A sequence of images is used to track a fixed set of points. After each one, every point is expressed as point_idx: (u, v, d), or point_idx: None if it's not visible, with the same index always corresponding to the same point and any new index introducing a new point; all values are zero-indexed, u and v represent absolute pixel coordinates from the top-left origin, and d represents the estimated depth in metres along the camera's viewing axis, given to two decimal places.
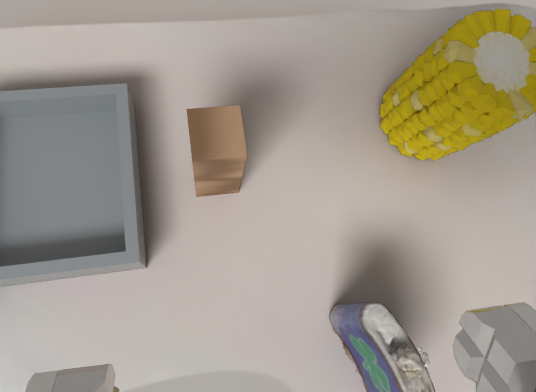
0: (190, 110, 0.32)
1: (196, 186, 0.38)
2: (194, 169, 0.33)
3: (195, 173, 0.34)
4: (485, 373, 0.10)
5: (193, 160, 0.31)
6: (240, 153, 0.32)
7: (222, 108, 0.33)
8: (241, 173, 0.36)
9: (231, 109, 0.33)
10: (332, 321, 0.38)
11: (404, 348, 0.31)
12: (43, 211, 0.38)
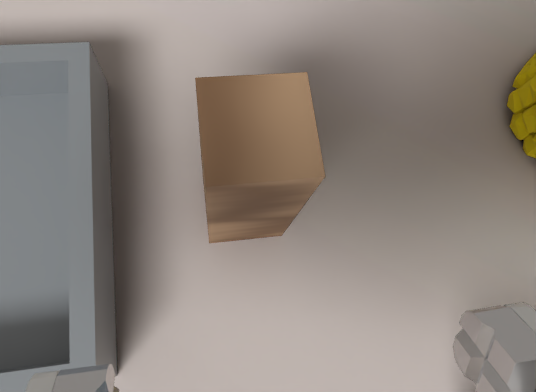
0: (203, 80, 0.15)
1: (210, 229, 0.20)
2: (209, 204, 0.16)
3: (210, 211, 0.17)
4: (485, 373, 0.10)
5: (208, 188, 0.14)
6: (309, 174, 0.15)
7: (270, 77, 0.15)
8: (298, 209, 0.19)
9: (290, 79, 0.15)
10: None
11: None
12: None
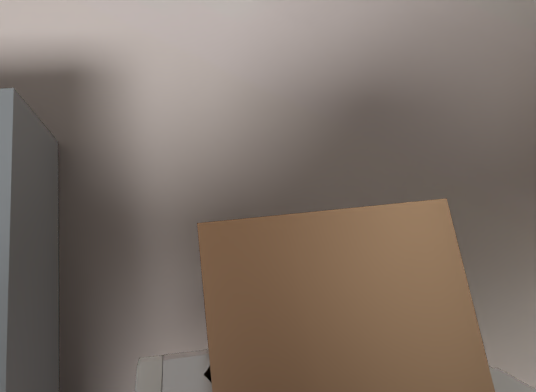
0: (215, 230, 0.06)
1: None
2: None
3: None
4: None
5: None
6: None
7: (368, 215, 0.07)
8: None
9: (411, 218, 0.07)
10: None
11: None
12: None
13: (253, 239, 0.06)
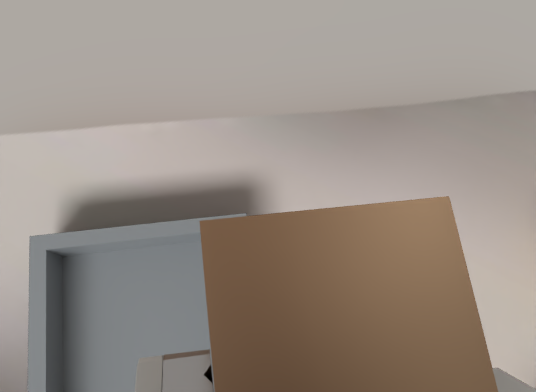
0: (218, 228, 0.06)
1: None
2: None
3: None
4: None
5: None
6: None
7: (370, 213, 0.07)
8: None
9: (414, 216, 0.07)
10: None
11: None
12: None
13: (255, 237, 0.06)
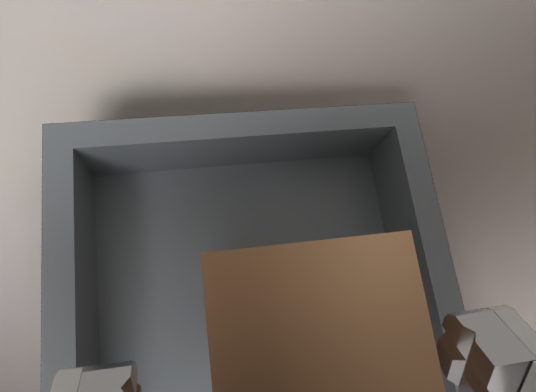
0: (215, 258, 0.08)
1: None
2: None
3: None
4: (466, 376, 0.10)
5: None
6: None
7: (344, 245, 0.08)
8: None
9: (380, 247, 0.08)
10: None
11: None
12: None
13: (247, 266, 0.08)
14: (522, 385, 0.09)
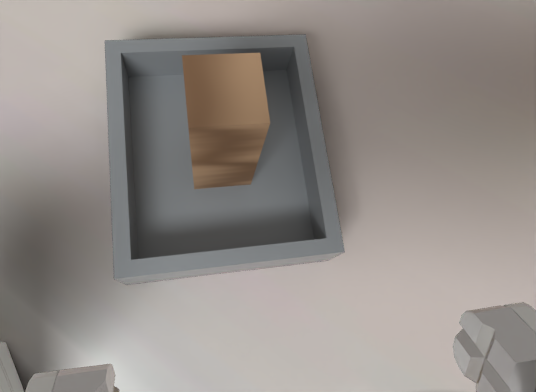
0: (187, 57, 0.22)
1: (194, 173, 0.27)
2: (191, 145, 0.23)
3: (193, 152, 0.24)
4: (485, 373, 0.10)
5: (190, 129, 0.21)
6: (259, 121, 0.21)
7: (234, 55, 0.22)
8: (258, 155, 0.25)
9: (247, 57, 0.22)
10: None
11: None
12: (206, 189, 0.30)
13: (198, 60, 0.22)
14: None
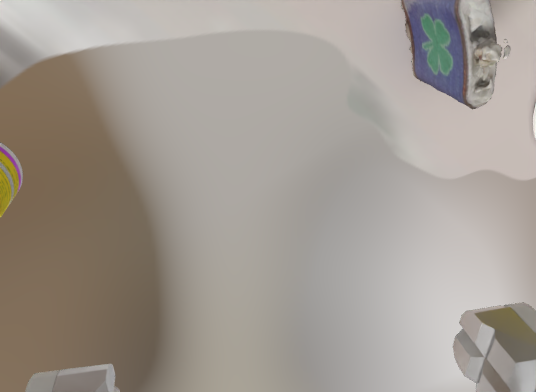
0: None
1: None
2: None
3: None
4: (485, 373, 0.10)
5: None
6: None
7: None
8: None
9: None
10: None
11: (485, 37, 0.31)
12: None
13: None
14: None
